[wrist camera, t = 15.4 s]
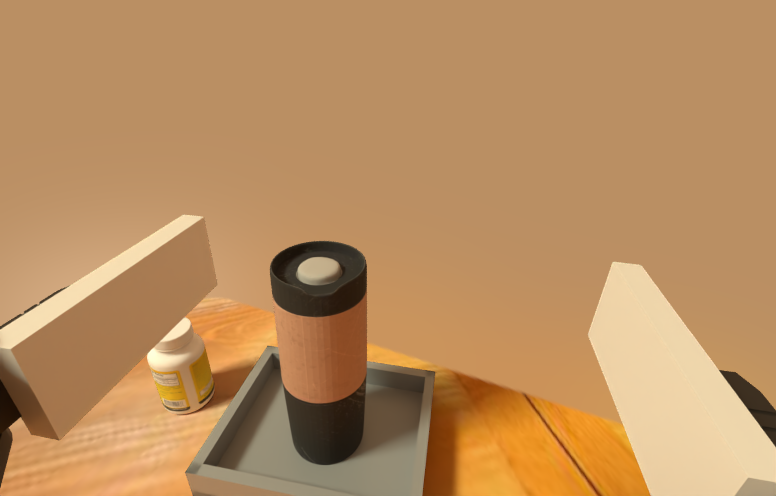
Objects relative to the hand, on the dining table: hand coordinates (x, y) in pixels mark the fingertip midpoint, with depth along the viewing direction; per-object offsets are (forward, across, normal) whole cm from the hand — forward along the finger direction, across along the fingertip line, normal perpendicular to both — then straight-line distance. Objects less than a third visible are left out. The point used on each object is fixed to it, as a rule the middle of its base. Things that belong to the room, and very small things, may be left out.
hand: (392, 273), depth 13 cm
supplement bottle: (+17, -25, -30) cm, 43 cm away
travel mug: (+15, -8, -29) cm, 34 cm away
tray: (+15, -8, -30) cm, 34 cm away
